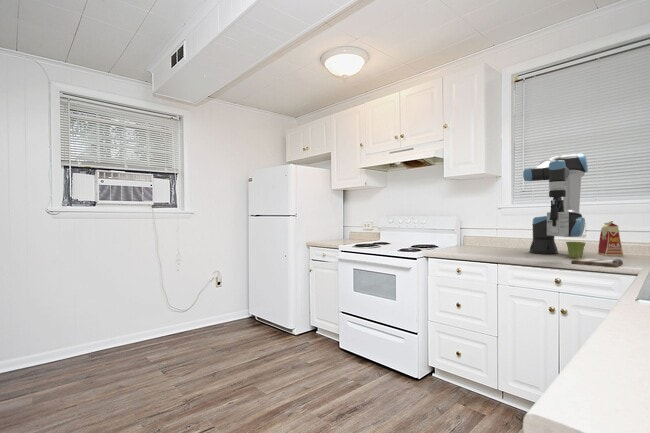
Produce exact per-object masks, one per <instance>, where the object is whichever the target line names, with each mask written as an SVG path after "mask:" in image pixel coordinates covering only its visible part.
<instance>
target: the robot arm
mask: <svg viewBox="0 0 650 433" xmlns="http://www.w3.org/2000/svg"><path fill="white" fill-rule="evenodd" d="M588 171H589V166H588V160H587V156H586V154H585V153H576V154H575V153H574V154H563V155H555V156H550V157H548V158H546V159H544V160H542V161H540V163H539V164H538V165H536V166H534V167H532V168H531V167H529V168H524V170H523V172H522V174H523V175H522V177H523V181H524V182H538V181H548V190H549V191H548V198H552V200H550V220H552V232H555V233H558V220H557V217H558V212H569V236H559V238H560V237H563V238H564V237H566V238H568V237H569V238H574V237H575V238H578V237H582V236H583V234H584V232H585V231H584V230H585V227H586V220H585V217H583V214H581V212H580V207H581V206H580V203H581V190H582V188H581V186H582V178H583V177H585V173H588ZM531 225H532V240H531V241H532V242H531V244H530V246H529V253H531V254H540V255H541V254H542V255H556V254H559V250H558V247H557V244H556V242H555V236H550V235H547V215H545V216H544V215H543V216H536V217H534V218H532V224H531Z"/></svg>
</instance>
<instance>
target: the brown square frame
mask: <svg viewBox="0 0 650 433" xmlns="http://www.w3.org/2000/svg"><path fill="white" fill-rule="evenodd" d="M570 263H571V264H572V265H581V266H582V265H584V266H585V265H586V266H593V267H594V266H595V267H596V266H597V267H608V268H618V267H620V266H621V265H623V264H624V263H623V260H622V259H620V258H615V259H603V258H590V257H589V258H588V257H582V258H574V259H572V260H571V262H570Z"/></svg>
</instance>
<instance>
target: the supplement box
mask: <svg viewBox="0 0 650 433" xmlns="http://www.w3.org/2000/svg"><path fill="white" fill-rule="evenodd" d="M550 212H551V211H550ZM550 212H548V211H547V212H546V216H547V235H550V236H554V237H560V236H569V212H558V217H557V220H558V233H555V232H552V220H550Z"/></svg>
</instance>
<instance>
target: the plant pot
mask: <svg viewBox="0 0 650 433" xmlns="http://www.w3.org/2000/svg"><path fill="white" fill-rule="evenodd" d="M565 243H566V247H567V253H568V257H569V258H571V259H573V258H574V259H577V258H583V255H584V250H585V246H586V244H587V242H584V241H565Z"/></svg>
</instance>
